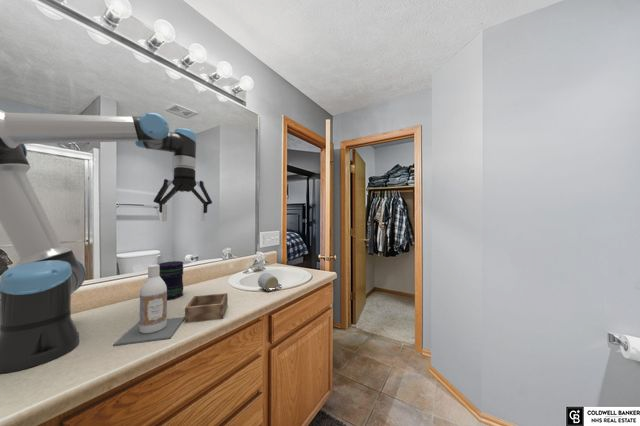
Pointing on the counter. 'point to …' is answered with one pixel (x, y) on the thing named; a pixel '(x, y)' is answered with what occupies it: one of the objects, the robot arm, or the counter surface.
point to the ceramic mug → (268, 281)
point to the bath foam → (153, 302)
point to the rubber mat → (138, 337)
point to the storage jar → (172, 278)
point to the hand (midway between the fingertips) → (183, 221)
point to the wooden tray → (206, 308)
